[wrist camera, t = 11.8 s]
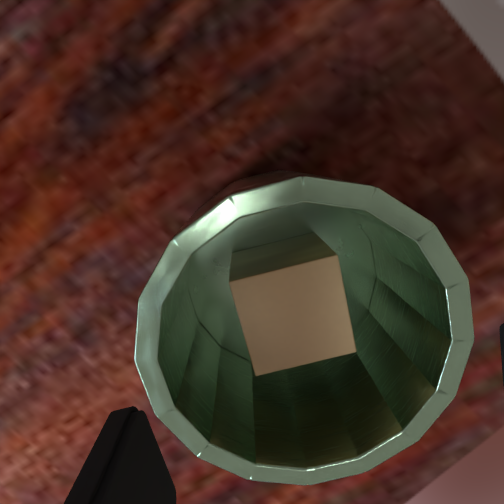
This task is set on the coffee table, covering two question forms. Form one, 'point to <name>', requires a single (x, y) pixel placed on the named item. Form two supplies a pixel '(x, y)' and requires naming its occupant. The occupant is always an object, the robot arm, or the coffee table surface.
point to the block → (291, 303)
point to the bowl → (317, 373)
